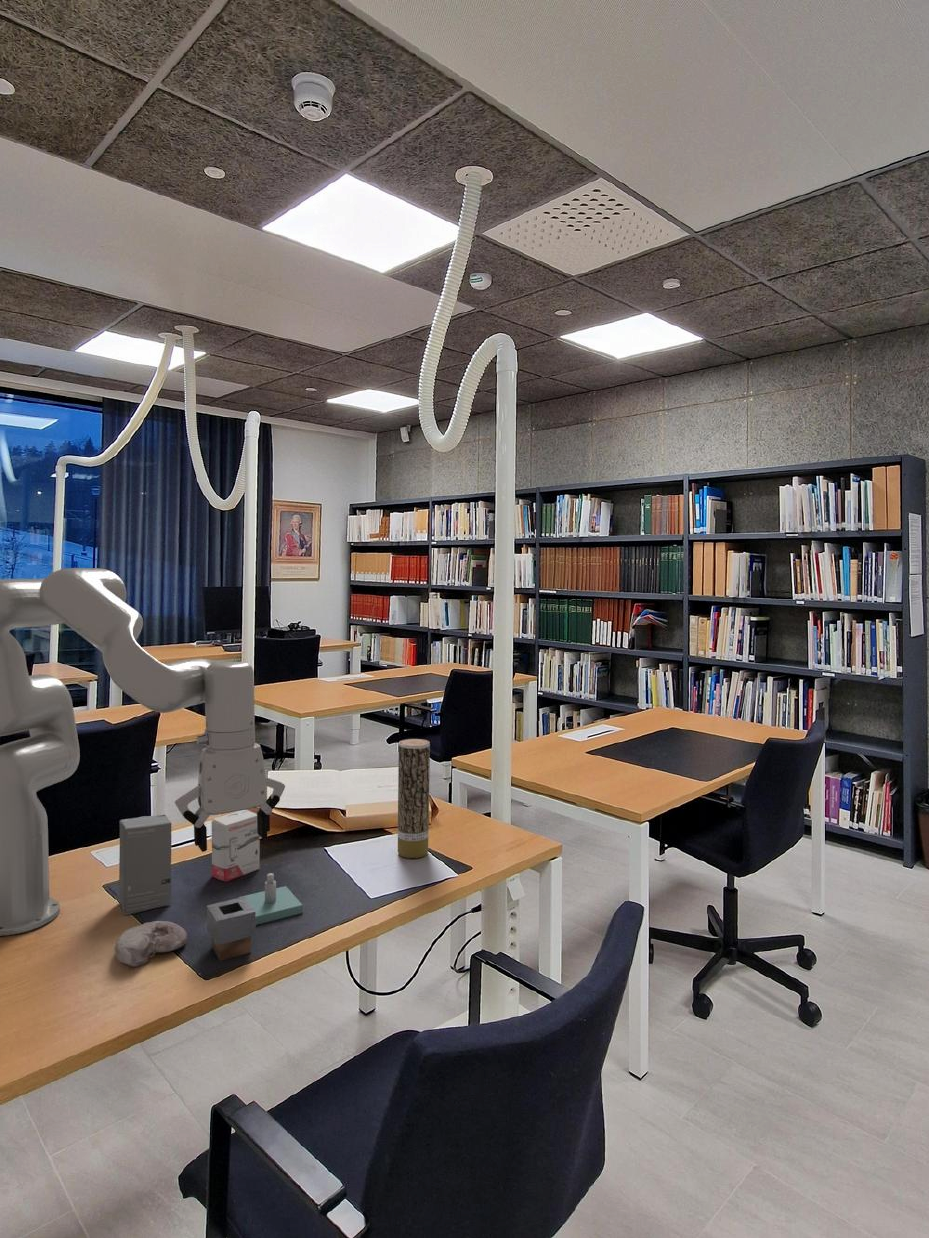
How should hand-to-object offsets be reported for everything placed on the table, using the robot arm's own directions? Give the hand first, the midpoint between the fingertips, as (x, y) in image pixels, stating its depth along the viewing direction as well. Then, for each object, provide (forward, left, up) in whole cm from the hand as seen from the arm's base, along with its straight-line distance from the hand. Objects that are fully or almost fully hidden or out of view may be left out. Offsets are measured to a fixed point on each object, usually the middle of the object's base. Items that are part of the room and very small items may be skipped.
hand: (233, 842), depth 117 cm
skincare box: (-9, +25, -18) cm, 32 cm away
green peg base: (+10, +11, -18) cm, 23 cm away
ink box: (+9, +30, -18) cm, 36 cm away
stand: (0, 0, -18) cm, 18 cm away
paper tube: (+45, +20, -18) cm, 52 cm away
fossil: (-12, +7, -19) cm, 23 cm away
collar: (0, 0, -15) cm, 15 cm away
